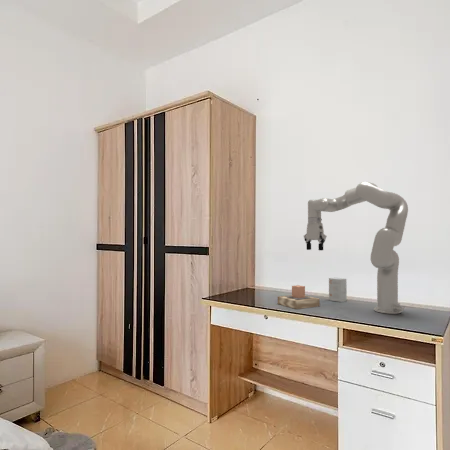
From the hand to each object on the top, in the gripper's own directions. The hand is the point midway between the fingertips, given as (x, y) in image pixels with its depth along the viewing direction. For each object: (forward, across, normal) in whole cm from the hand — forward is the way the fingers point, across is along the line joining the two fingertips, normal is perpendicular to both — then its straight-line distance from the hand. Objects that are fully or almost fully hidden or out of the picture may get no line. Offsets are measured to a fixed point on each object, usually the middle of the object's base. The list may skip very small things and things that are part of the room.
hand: (314, 250), depth 212 cm
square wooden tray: (+30, -5, +17) cm, 34 cm away
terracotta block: (+25, -5, +17) cm, 31 cm away
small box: (+30, -6, -12) cm, 33 cm away
